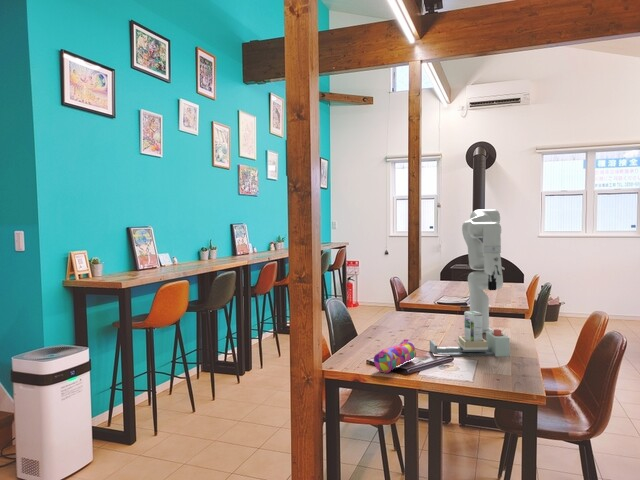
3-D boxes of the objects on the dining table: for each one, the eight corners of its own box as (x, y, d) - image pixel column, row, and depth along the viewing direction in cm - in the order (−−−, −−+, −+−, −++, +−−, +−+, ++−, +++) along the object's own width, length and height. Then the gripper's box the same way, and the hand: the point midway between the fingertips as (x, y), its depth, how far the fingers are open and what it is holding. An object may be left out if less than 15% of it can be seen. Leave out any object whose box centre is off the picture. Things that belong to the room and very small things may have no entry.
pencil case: (397, 358, 198) (397, 337, 197) (417, 361, 192) (417, 340, 192) (372, 372, 180) (371, 349, 180) (393, 376, 175) (393, 353, 174)
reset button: (492, 345, 203) (492, 329, 203) (499, 345, 203) (499, 329, 203) (495, 347, 200) (495, 331, 200) (502, 347, 200) (502, 331, 200)
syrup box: (463, 343, 204) (463, 311, 203) (474, 342, 206) (474, 310, 205) (472, 346, 199) (471, 313, 198) (483, 345, 200) (482, 312, 200)
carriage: (457, 347, 207) (457, 336, 207) (480, 346, 207) (480, 335, 207) (463, 353, 197) (463, 341, 197) (488, 352, 197) (487, 341, 197)
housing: (486, 348, 208) (486, 331, 208) (499, 348, 208) (499, 331, 208) (495, 356, 196) (495, 338, 196) (509, 356, 196) (509, 337, 196)
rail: (429, 350, 208) (429, 339, 207) (486, 349, 207) (486, 338, 207) (434, 356, 198) (434, 345, 197) (494, 355, 197) (494, 344, 197)
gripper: (506, 250, 199) (506, 292, 199) (494, 248, 213) (494, 287, 214) (489, 251, 199) (489, 292, 199) (478, 249, 214) (478, 287, 214)
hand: (492, 289), depth 207 cm, fingers closed
